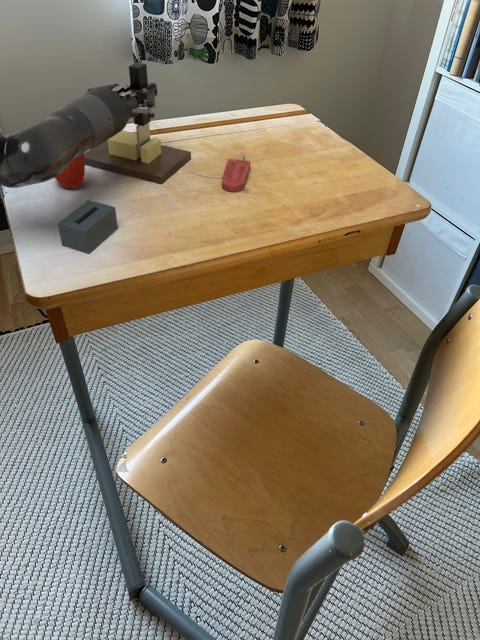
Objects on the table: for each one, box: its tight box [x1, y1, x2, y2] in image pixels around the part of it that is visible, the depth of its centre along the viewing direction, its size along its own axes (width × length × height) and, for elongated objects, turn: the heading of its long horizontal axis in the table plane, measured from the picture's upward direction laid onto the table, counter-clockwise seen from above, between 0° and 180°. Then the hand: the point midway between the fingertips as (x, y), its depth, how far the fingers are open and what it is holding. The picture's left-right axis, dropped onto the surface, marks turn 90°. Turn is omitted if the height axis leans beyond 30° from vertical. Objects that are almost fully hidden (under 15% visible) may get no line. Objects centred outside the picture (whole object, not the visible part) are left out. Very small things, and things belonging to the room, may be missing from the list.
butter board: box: [84, 140, 192, 185], centre depth 101 cm, size 18×12×2 cm, turn 67°
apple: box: [53, 153, 86, 189], centre depth 91 cm, size 6×6×8 cm
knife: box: [128, 62, 152, 158], centre depth 94 cm, size 2×4×16 cm, turn 157°
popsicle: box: [221, 151, 251, 193], centre depth 99 cm, size 4×2×15 cm
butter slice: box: [140, 137, 162, 164], centre depth 98 cm, size 2×5×3 cm, turn 157°
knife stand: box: [56, 199, 119, 255], centre depth 80 cm, size 5×8×4 cm, turn 157°
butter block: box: [108, 129, 139, 160], centre depth 100 cm, size 6×5×3 cm
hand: (148, 87), depth 94 cm, fingers closed on knife, 2 cm apart
